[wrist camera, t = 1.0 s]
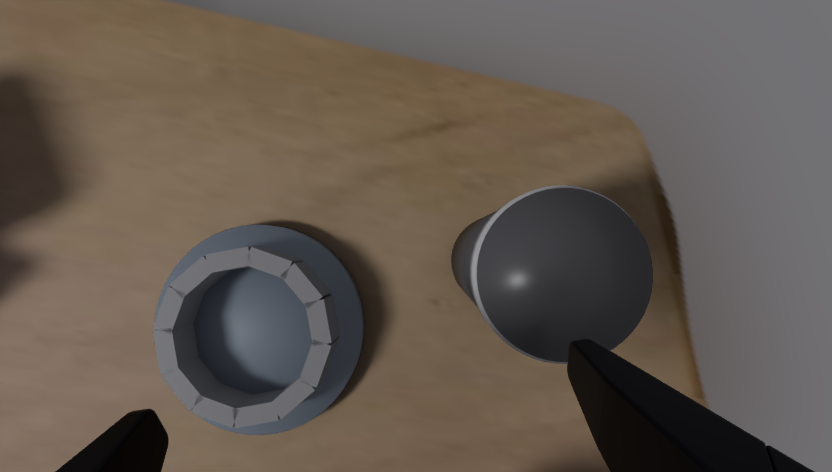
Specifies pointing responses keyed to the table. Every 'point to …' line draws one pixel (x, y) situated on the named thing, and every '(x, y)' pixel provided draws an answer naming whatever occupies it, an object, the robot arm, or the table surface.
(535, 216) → the grey domed cylinder
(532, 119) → the table surface
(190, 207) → the table surface
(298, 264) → the ring
